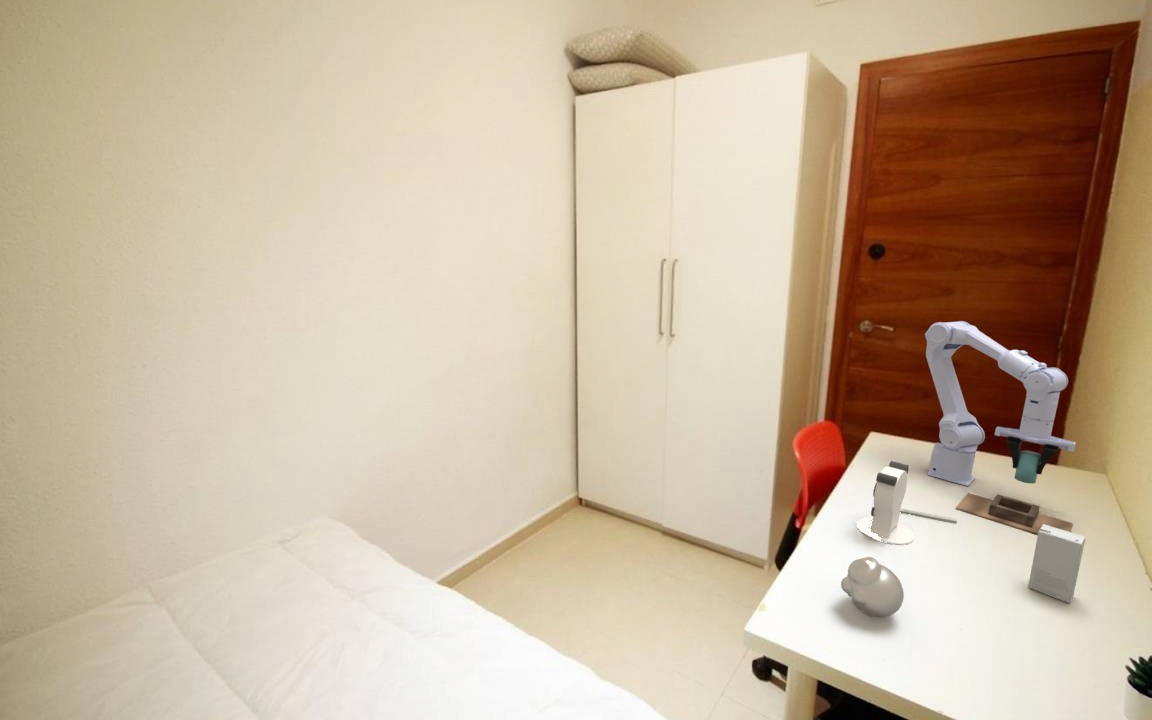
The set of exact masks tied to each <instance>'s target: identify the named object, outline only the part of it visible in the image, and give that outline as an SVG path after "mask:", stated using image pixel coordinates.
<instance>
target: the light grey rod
mask: <svg viewBox="0 0 1152 720" xmlns="http://www.w3.org/2000/svg"><path fill="white" fill-rule="evenodd" d="M900 512H901V513H900V514H903V513H906V514H905V515H908V514H911V515H910V516H913V515H915V517H920V518H925V519H929V520H930V519H931V520H936V521H940V522H947V523H951V524H955V525H956V524H957V522H958V521H957V519H956V518H953V517H949V516H943V515H937V514H931V513H926V512H922V511H921V512H920V511H915V510H910V509H904V508H901V509H900Z"/></svg>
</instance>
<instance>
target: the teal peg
mask: <svg viewBox="0 0 1152 720" xmlns="http://www.w3.org/2000/svg"><path fill="white" fill-rule="evenodd" d="M1041 456H1042V454H1040V453H1038V452H1035V451H1031V450H1024V449H1023V450H1020V453H1019V458H1018V463H1017V468H1015V474H1014V479H1015V480H1016V481H1018V482H1021V483H1024V484H1036V482H1037V478H1038V474H1037V471H1038V468H1039V465H1040V461H1041Z"/></svg>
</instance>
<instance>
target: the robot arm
mask: <svg viewBox="0 0 1152 720" xmlns="http://www.w3.org/2000/svg"><path fill="white" fill-rule="evenodd" d="M924 336H925V340H926V351H925V357H926V361H927V364H928V367H929V370H930V374H931V377H932V381H933V383H934V387H935V388H934V389H935V390H936V393H937V398H938V401H939V403H940V407H941V410H942V413H943V416H942V418H941V419H940V421H939V423H938V426H939V434H938V435H939V436H938V438H939V440H940V442H936V443H934V445H933V448H932V451H931V457H930V461H929V462H930V463H929V467H928V468H929V469H928V472H927V475H928V476H930V477H934V478H938V479H941V480H945V481H948V482H952V483H955V484H959V485H963V486H966V487H969V486H970V484H971V483H972V482H973V481H974V480H975V479H976V476H974V475H973V469H974V463H975V457H976V453H977V449H978V446H980V445H981V444H982V443H984V441H985V438H986V435H985V431H984V429H983V427H981V425H980V424H979V423H978V421H977V418H976V417H975V416H974V415H972V414H971V413H970V412H969V411H968V409H967V406H966V402H965V399H964V396H963V393H962V392H963V391H962V389H961V386H960V383H959V380H958V376H957V374H956V371H955V370H956V369H955V367H954V363H953V360H952V356H953V355H954V353H956V352H957V350H958V349H960V348H961V347H963V346H965V345H967V346H969V347H972V348H974V349H975V350H977V351H979V352H981V353H983V354H985V355H986V356H988V357H990V358H992V359H994V360H995V361H997V366H998V368H999V369H1000V370H1002V371H1004V372H1005V373H1007V374H1008V375H1011V376H1012V377H1014V378H1015V379H1017V380H1018V381H1020V382H1021V383H1022V384H1023V387H1024V388H1025V390H1026V394H1025V396H1026V397H1025V400H1024V401H1025V402H1024V406H1023V411H1022V416H1021V421H1020V426H1019V428H1011V427H1003V426H997V427H995V431H994V436H997V437H1005V438H1007V440H1006V444H1007V446H1008V449H1009V452H1010V454H1011V455H1010V456H1011V462H1012V468H1013V469H1016V468H1017V463H1018V458H1019V453H1020V451H1021V449H1022V448H1021V447H1022V444H1023V442H1028V443H1033V444H1038V445H1042V446H1043V445H1044V446H1043V447H1042V451H1041V460H1040V465H1039V468H1038V471H1037V475H1042V473H1043V470H1044V468H1045V466H1046V465H1047V463H1048V462H1049V461H1050V460H1051V459H1052V458H1053V457H1054V456H1055V455H1056V453H1058V451H1059V449H1062V450H1066V451H1068V452H1072V453H1073V452H1075V448H1076V443H1077V442H1075V441H1072V440H1068V439H1063V438H1060V437H1057V436H1053V435H1052V432H1053V427H1054V421H1055V419H1056V413H1057V409H1058V404H1059V398H1060V394H1061V392H1062V391H1064V390H1065V389H1066V388H1067V386H1068V384H1069V378H1068V376H1067V374H1066V373H1065V372H1064V371H1062V370H1061V369H1060V368H1058V367H1047V366H1048V365H1047V364H1046V363H1045V362H1040V361H1037V360H1035V359H1034V358H1033V357H1031V356H1029V355H1028V354H1029V353H1028V352H1027V351H1025V350H1020V349H1019V350H1018V349H1012V350H1009V349H1007V348H1006V347H1004V346H1003V345H1001V344H1000V343H998V342H997V341H995V340H993V339H992V338H991V337H989V336H987V335H986V334H985V333H984V332H982V331H980V330H979V329H978V328H977V326H975V325H972V324H970V323H968V322H967V321H965V320H964V321H963V320H959V321H958V320H957V321H950V322H949V321H947V322H941V321H939V322H934V323H933V324H931V325H930V327H929V328H928V330H927V331H926V332H925V334H924Z"/></svg>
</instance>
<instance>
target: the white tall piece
mask: <svg viewBox="0 0 1152 720" xmlns="http://www.w3.org/2000/svg"><path fill="white" fill-rule="evenodd" d="M909 468H910V467H909V464H904V463H901V462H897V461H892V460H890V461H889V464H888V465H887V466H886V465H885V467H883V469H882V470H881V472H877V474H876V478H875V479H876V480H875V481H876V482H875V483H874V489H873V506H872V507H871V511H870V517H873V519H872V520H873V521H872V520H870V521H872V526H871V528H870V527H869V528H870V529H871V532H873V533H876V534H878V536H879V537H881V538H882V539H881V541H883V542H887V543H893V544H906V545H909V544H908V543H910V544H911V542H912V541H913V540H915V535H914V533H913V531H912V530H911V529H910V528H908V527H906V526H905V525H903V524H901V523H900V522H899V519H900V514H901V513H900V509H902V504H903V501H904V498H905V495H906V491H907V484H908V473H909ZM891 533H892V534H891ZM893 534H894V535H893ZM882 536H883V537H882ZM883 542H882V543H883ZM913 542H914V541H913ZM913 542H912V543H913ZM887 543H886V544H887ZM893 544H892V545H893Z"/></svg>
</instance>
